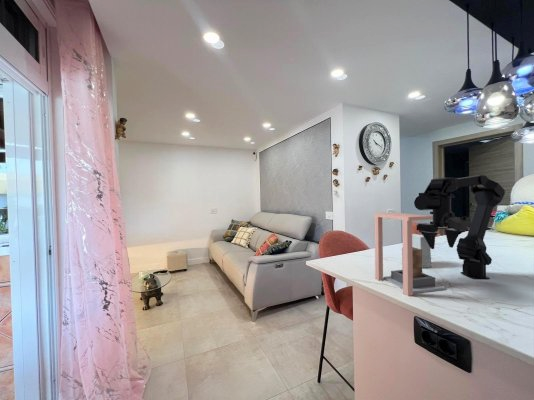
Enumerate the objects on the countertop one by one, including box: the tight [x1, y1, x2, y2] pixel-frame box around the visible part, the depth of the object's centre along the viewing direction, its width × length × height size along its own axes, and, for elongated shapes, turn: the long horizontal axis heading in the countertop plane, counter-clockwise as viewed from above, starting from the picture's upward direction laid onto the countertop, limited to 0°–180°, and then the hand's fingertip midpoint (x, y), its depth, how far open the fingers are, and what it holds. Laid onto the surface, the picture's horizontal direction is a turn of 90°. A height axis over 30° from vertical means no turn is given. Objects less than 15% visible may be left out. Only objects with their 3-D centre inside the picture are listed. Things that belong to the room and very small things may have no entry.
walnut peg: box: [401, 247, 423, 278], centre depth 83 cm, size 4×4×13 cm
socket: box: [383, 269, 446, 295], centre depth 83 cm, size 14×14×4 cm
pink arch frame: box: [373, 212, 433, 297], centre depth 82 cm, size 10×17×27 cm, turn 12°
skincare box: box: [412, 233, 432, 269], centre depth 104 cm, size 8×6×15 cm
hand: (441, 248), depth 85 cm, fingers open, 9 cm apart
